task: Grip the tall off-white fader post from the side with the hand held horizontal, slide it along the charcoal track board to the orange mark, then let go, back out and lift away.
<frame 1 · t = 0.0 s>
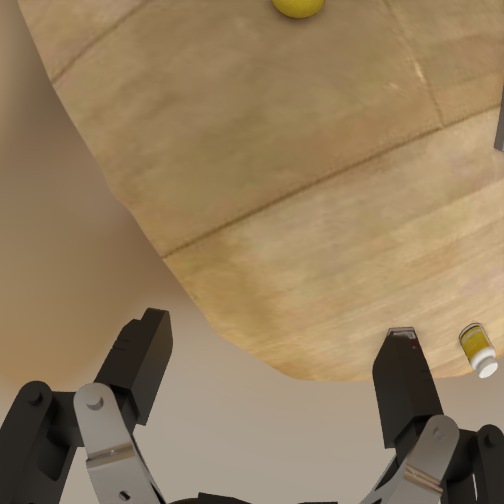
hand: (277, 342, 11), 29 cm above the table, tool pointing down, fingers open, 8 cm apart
supplement bottle: (470, 332, 48), on the table
lemon: (296, 3, 27), on the table
supplement box: (395, 343, 50), on the table
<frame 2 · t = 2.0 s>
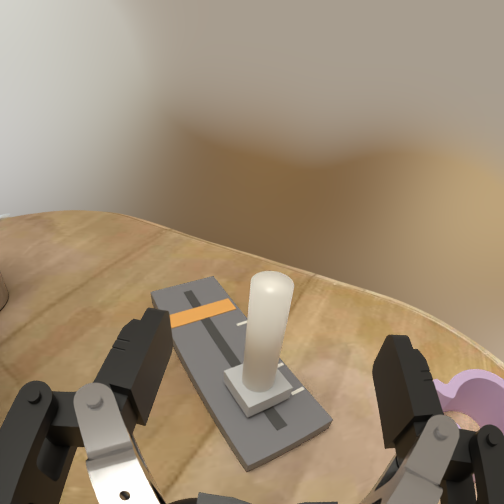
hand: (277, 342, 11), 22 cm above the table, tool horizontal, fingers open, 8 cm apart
track board: (224, 359, 37), on the table
fader: (263, 346, 27), point 9 cm above the table, slide at 7.0 cm
clip: (471, 443, 25), on the table
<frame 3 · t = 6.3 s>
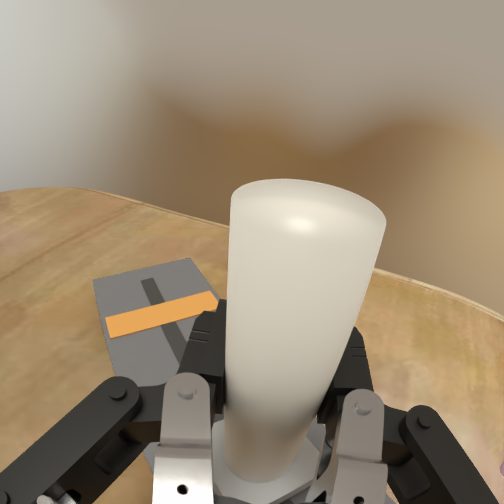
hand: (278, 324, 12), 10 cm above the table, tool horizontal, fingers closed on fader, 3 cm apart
track board: (199, 397, 20), on the table
fader: (271, 400, 10), point 9 cm above the table, slide at 7.0 cm, touching gripper
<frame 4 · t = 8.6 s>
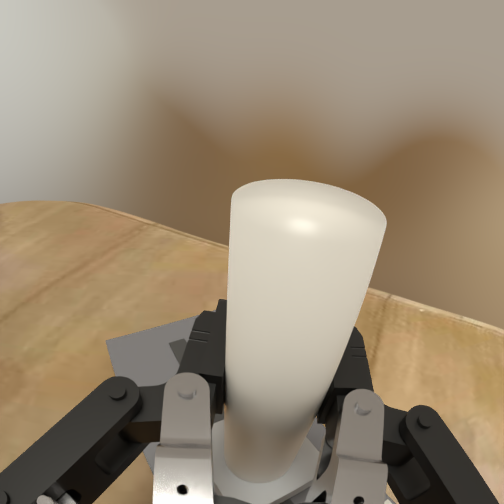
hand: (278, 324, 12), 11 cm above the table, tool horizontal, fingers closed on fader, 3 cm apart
track board: (261, 494, 14), on the table
fader: (271, 400, 10), point 10 cm above the table, slide at -1.2 cm, touching gripper
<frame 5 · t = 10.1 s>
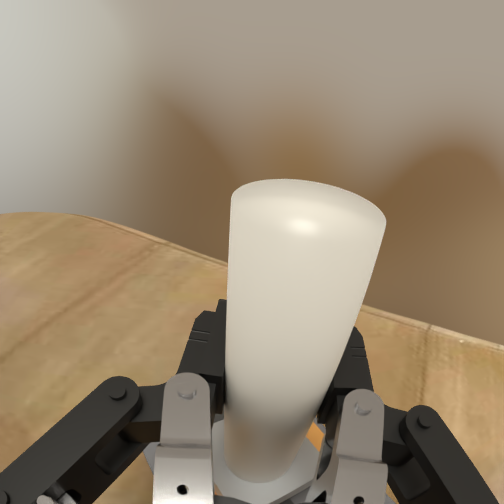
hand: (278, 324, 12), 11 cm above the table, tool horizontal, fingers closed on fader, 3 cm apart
fader: (271, 400, 10), point 10 cm above the table, slide at -6.9 cm, touching gripper
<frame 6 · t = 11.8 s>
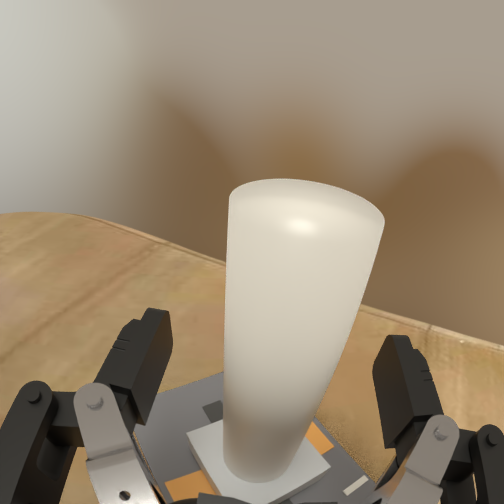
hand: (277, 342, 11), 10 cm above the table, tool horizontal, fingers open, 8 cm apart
fader: (270, 400, 10), point 10 cm above the table, slide at -7.0 cm
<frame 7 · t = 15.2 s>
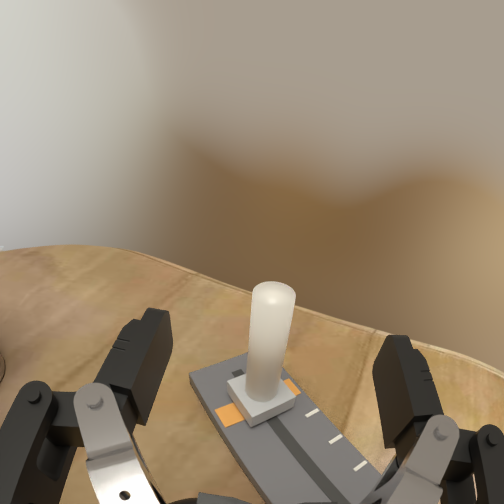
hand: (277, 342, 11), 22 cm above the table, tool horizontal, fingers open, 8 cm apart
track board: (293, 459, 26), on the table
fader: (265, 356, 27), point 10 cm above the table, slide at -7.0 cm
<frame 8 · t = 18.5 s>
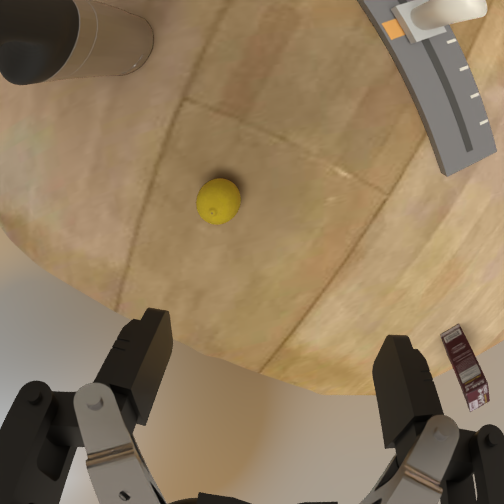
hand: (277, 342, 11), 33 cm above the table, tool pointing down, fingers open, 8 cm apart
track board: (433, 69, 31), on the table
lemon: (224, 190, 43), on the table
fader: (440, 11, 20), point 10 cm above the table, slide at -7.0 cm
supplement box: (452, 338, 54), on the table
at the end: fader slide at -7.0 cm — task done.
